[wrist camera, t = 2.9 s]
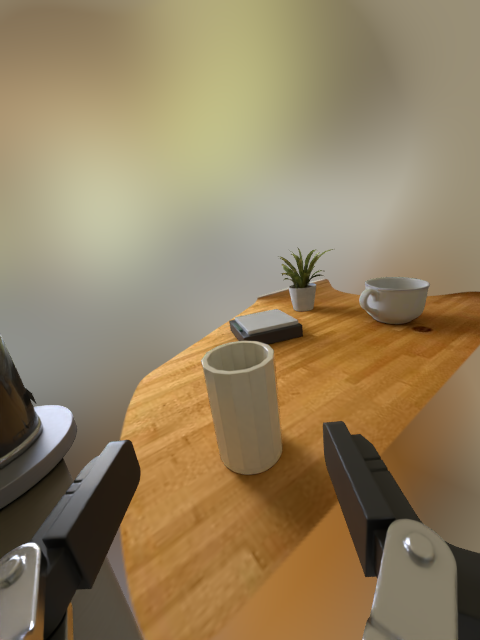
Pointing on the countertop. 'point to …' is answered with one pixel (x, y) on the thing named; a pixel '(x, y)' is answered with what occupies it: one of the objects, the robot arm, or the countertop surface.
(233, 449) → the tumbler
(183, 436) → the countertop surface
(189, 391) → the countertop surface
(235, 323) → the scale
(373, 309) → the teacup
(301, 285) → the house plant
